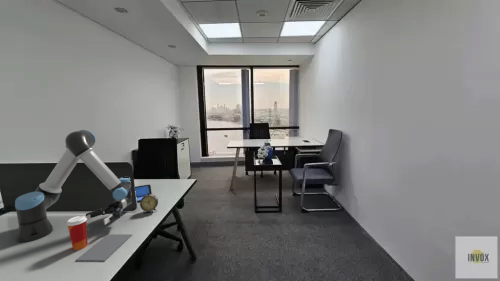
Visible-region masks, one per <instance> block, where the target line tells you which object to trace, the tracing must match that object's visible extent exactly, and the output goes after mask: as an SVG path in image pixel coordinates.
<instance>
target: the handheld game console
mask: <svg viewBox="0 0 500 281" xmlns="http://www.w3.org/2000/svg"><path fill="white" fill-rule="evenodd" d="M134 187H135V191H136V197H137V202H138V203H140V201H141V199H142V198H143V197H144V196H145V195H148V193H149V194H152V195H153V193H152V186H151V184H145V185H143V184H142V185H138V186H134ZM146 189H147V190H146ZM149 189H150V190H151V192H150V190H149ZM146 192H147V193H146Z"/></svg>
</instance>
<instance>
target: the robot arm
mask: <svg viewBox="0 0 500 281" xmlns="http://www.w3.org/2000/svg"><path fill="white" fill-rule="evenodd" d="M64 140H65V149H66V150H65V152H64V153H63V154H62V156H61V157H60V159H59V161H58V162H57V163H56V165H55V167H54V168H53V169H52V170H51V173H50V174H49V176H48V177H47V178H46V180H45V181H44V182H42V183H39V185H38V187H37V188H36V189H35V191H30V192H27V193H25V194H22V195H20V196H18V197H17V198H16V199H15V202H14V203H15V204H14V207H15V211H16V216H17V223H18V229H17V232H16V235H15V238H16V241H17V242H19V243H26V242H31V241H35V240H38V239H42V238H43V237H46V236H47V235H50V234H51V233H52V232H53V231H54V228H53V227H54V226H53V225H52V223H51V222H50V221H49V219H48V215H47V209H48V208H50V207H51V206H52V205H54V204H55V203H56V202H58V200H59V198H60V197H61V196H60V195H61V193H62V191H63V190H62V187H63V184H64V183H65V182H66V180H67V178H68V177H69V176H70V175H71V174H72V173H71V172H72V171H73V170H74V168H75V167H76V165H77V164H78V162H79V160H81V161H82V162H83V164H85V166H87V168H88V169H89V170H90V171H91V172H92V173H93V174H94V175H95V176H96V177H97V179H98V180H100V181H101V183H102V184H103V185H104V186H105V187H106V188H107V189H108V190H109V191H110V192H111V193H112V198H113V199H114V201H112V202H111V203H109V204H108V205H107V207H100V208H97V209H95V210H93V211H90V212H87V213H85V217H86V218H87V220H86V223H87V222H89V221H90V220H92V219H93V218H95V217H100V216H105V215H109V216H107V217H106V218H104V219H103V225H104V226H105V225H107V224H108V223H110V222H111V221H113V220H115V219H119V218H121V214H122V213H123V211H124V210H123V209H126V208H127V207H128V206H130V205H131V204H132V191H131V187H132V181H130V180H131V178H130V177H129V178H123V177H120V178H118V176H117V175H115V173H114V172H113V171H112V170H111V169H110V168H109V167H108V166H107V165H106V164H105V163H104V161H103V160H102V159H101V158H100V157H99V156H98V155H97V154H96V153H95V151H94V150H93V149H94V148H93V146H94V145H95V144H96V141H97V138H96V135H95V134H94V133H93V132H92V131H90V130H86V129H81V130H80V129H79V130H76V131H72V132H70V133H68V135H66V137H65V139H64Z"/></svg>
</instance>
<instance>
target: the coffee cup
mask: <svg viewBox="0 0 500 281" xmlns="http://www.w3.org/2000/svg"><path fill="white" fill-rule="evenodd" d="M86 220H87V218H86V215H77V216H74V217H71V218H69V219H68V220H67V222H66V226H67V227H68V233H69V238H70V242H71V247H72V250H73V251H79V250H82V249H85V248H86V247H87V246H88V229H87V227H88V225H87V224H88V223H87V222H86Z"/></svg>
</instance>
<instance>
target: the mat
mask: <svg viewBox="0 0 500 281" xmlns="http://www.w3.org/2000/svg"><path fill="white" fill-rule="evenodd" d="M131 237H133V234H131V233H130V234H128V233H127V234H122V233H120V234H118V233H117V234H114V233H113V234H111V233H110V234H109V233H108V234H106V235H105V236H104V237H103V238H101V239H100V240H99V241H98V242H96V243H95V244H94V245H92V246H91V247H90V248H89V249H88V250H87V251H85V252H84V253H82V254H81V255H80V256H79V257H77V258H76V259H75V262H106V261H107V260H108V259H109V258H110V257H111V256H112V255H114V253H115V252H116V251H117V250H118V249H120V247H122V246H123V245H124V244H125V243H126V242H127V241H128V240H129V239H130V238H131Z"/></svg>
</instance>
